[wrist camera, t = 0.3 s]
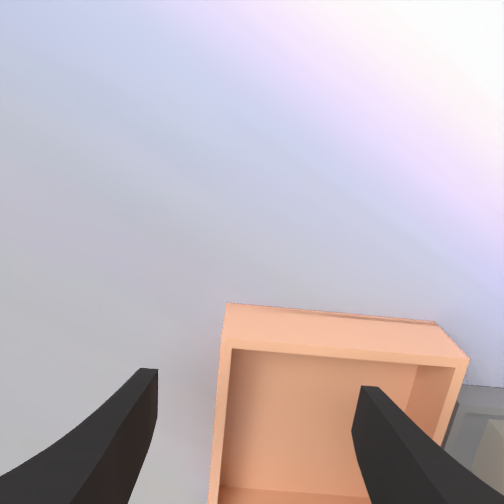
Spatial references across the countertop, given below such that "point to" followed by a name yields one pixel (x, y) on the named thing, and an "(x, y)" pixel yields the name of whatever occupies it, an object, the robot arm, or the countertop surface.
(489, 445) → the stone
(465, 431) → the stone tray
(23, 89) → the countertop surface
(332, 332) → the bin
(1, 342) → the countertop surface
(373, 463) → the robot arm
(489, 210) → the countertop surface
